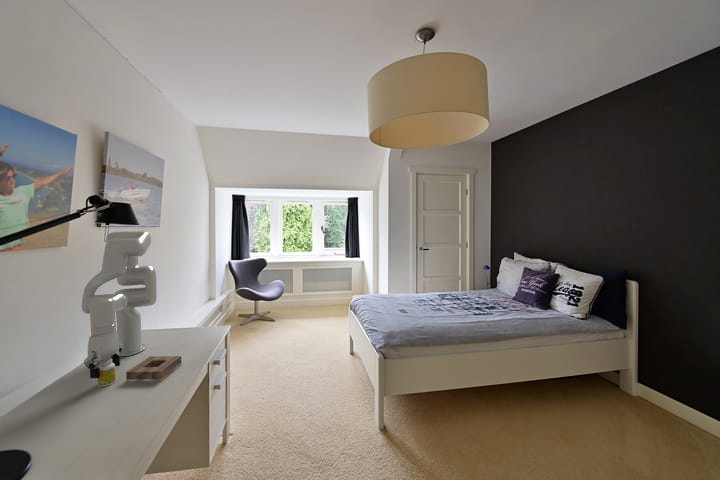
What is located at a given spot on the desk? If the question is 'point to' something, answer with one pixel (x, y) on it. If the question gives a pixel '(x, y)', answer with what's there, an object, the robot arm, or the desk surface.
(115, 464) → the desk surface
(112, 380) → the supplement bottle
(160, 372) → the socket block
